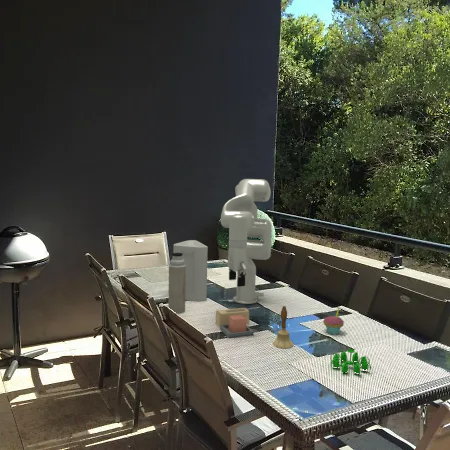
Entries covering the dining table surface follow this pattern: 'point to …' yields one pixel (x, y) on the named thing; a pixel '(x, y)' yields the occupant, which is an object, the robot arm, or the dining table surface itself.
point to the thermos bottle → (177, 283)
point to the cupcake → (333, 323)
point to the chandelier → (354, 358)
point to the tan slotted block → (223, 315)
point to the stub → (237, 323)
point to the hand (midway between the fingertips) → (236, 282)
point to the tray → (237, 334)
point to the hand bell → (283, 333)
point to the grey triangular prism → (194, 269)
